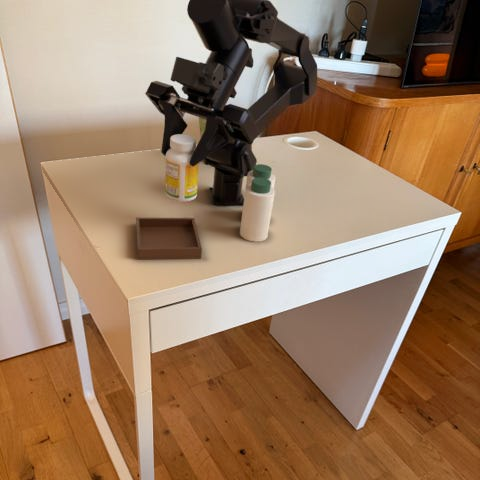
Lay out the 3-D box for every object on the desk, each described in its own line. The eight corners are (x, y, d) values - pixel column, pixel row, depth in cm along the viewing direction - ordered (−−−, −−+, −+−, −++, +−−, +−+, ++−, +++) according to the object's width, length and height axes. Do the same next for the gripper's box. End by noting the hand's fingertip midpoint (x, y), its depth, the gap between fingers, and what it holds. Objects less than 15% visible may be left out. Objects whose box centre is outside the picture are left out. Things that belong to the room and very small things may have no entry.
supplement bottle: (165, 202, 75) (164, 144, 69) (165, 187, 79) (165, 131, 72) (197, 203, 76) (200, 146, 69) (196, 189, 80) (199, 133, 73)
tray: (136, 227, 79) (135, 217, 77) (193, 227, 81) (194, 217, 80) (138, 259, 71) (137, 249, 70) (201, 258, 74) (201, 248, 72)
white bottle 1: (239, 212, 87) (245, 161, 81) (264, 212, 88) (272, 162, 82) (244, 225, 83) (251, 173, 77) (270, 225, 85) (280, 174, 78)
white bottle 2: (237, 227, 83) (243, 174, 76) (263, 227, 84) (272, 175, 77) (242, 241, 79) (250, 188, 73) (270, 241, 80) (280, 188, 74)
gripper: (151, 21, 68) (104, 113, 68) (258, 48, 61) (206, 151, 61) (182, 71, 78) (141, 152, 78) (276, 99, 72) (232, 187, 72)
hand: (177, 159), depth 72 cm, fingers closed on supplement bottle, 5 cm apart
